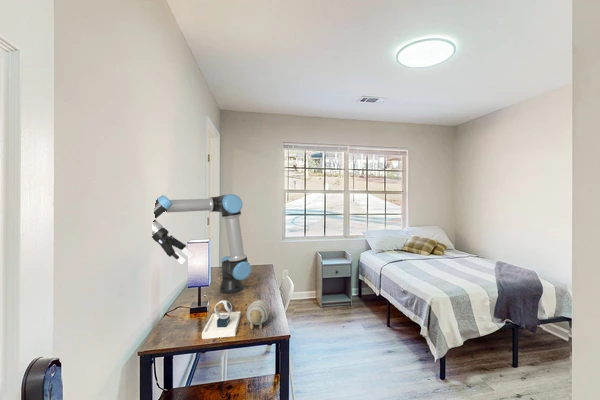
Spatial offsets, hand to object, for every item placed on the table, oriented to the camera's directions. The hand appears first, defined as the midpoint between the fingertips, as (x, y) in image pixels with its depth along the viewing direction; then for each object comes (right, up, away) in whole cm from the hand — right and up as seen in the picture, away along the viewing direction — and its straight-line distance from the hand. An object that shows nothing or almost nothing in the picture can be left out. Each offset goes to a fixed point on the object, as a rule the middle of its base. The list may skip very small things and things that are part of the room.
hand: (188, 259), depth 133 cm
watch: (+23, -28, -13) cm, 38 cm away
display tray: (+22, -29, -13) cm, 39 cm away
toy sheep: (+39, -28, -12) cm, 50 cm away
